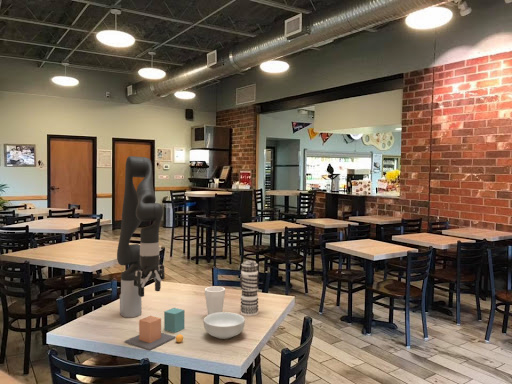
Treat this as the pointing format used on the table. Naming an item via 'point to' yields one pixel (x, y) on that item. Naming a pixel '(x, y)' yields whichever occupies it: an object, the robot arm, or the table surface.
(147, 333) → the salmon pink cube
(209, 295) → the foam cup
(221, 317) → the cereal bowl
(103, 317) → the table surface
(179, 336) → the orange ball
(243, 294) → the decorative candle
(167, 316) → the seafoam square box
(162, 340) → the charcoal mat
